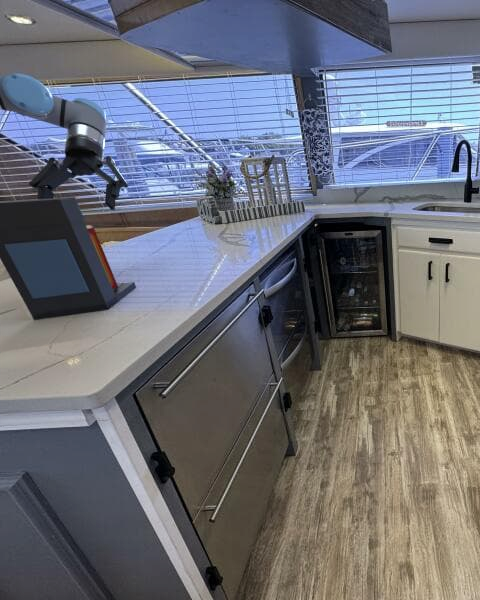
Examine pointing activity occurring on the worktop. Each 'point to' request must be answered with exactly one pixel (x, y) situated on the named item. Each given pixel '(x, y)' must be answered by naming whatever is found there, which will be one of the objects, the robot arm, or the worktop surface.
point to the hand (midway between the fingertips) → (78, 208)
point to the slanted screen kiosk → (54, 258)
